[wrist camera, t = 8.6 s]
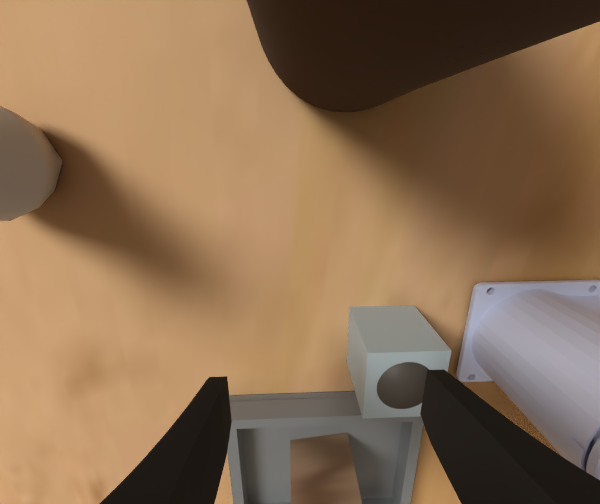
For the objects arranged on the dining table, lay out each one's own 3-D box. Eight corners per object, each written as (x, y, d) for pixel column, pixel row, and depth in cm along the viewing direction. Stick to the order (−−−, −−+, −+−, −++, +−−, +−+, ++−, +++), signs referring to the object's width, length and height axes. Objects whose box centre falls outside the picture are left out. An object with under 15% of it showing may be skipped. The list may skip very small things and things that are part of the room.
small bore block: (347, 432, 23) (362, 505, 18) (351, 472, 24) (367, 550, 20) (290, 440, 23) (290, 515, 18) (298, 479, 24) (300, 559, 20)
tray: (412, 389, 23) (425, 412, 20) (397, 495, 26) (406, 524, 24) (229, 395, 22) (223, 420, 20) (241, 502, 26) (237, 533, 24)
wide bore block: (413, 304, 20) (452, 351, 16) (406, 358, 22) (439, 416, 17) (349, 306, 20) (368, 353, 15) (346, 360, 22) (362, 419, 17)
